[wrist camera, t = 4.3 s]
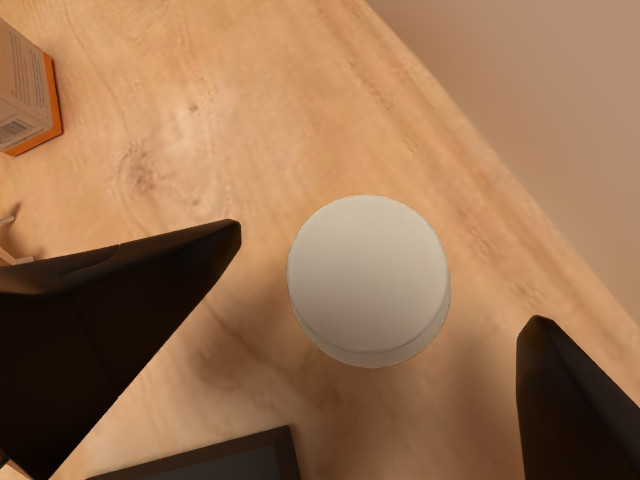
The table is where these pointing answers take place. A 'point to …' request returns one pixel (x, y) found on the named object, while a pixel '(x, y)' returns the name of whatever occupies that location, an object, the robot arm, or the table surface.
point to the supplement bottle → (368, 281)
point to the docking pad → (224, 461)
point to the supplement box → (25, 94)
